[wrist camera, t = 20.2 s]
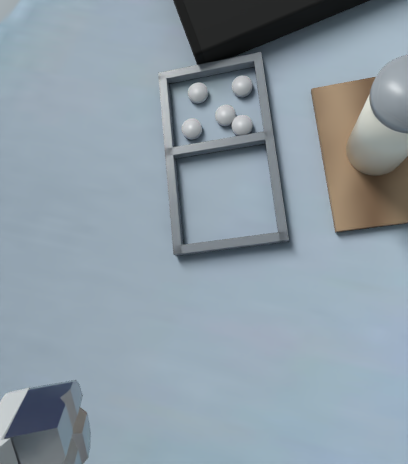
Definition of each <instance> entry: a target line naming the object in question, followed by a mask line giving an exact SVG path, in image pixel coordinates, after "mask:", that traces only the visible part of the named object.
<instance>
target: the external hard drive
mask: <svg viewBox="0 0 408 464" xmlns="http://www.w3.org/2000/svg"><path fill="white" fill-rule="evenodd" d="M173 1H174V4H175V6H176V9H177V12H178V14H179V17H180V20H181V22H182V25H183V28H184V30H185V33H186V36H187V39H188V41H189V44H190V47H191V49H192V52H193V55H194V57H195V60H196V63H197V65H199V64H204V63H209V62H214V61H219V60H224V59H229V58H232V57H234V56H237V55H239V54H241V53H244V52H246V51H249V50H251V49H254V48H256V47H258V46H261V45H263V44H266V43H268V42H270V41H273V40H275V39H278V38H280V37H282V36H285V35H287V34H290V33H292V32H295V31H297V30H299V29H302V28H304V27H307V26H309V25H311V24H314V23H316V22H319V21H321V20H324V19H326V18H328V17H331V16H333V15H336V14H338V13H340V12H343V11H345V10H348V9H350V8H353V7H355V6H357V5H360V4H362V3H365V2H367V1H369V0H173Z"/></svg>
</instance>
